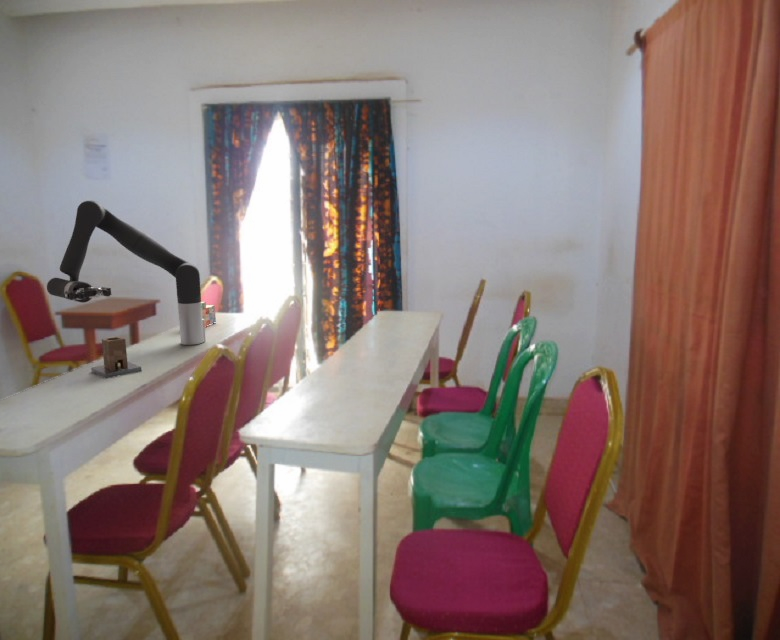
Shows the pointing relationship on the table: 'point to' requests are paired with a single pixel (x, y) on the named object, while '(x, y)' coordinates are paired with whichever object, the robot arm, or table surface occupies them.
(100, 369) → the base plate
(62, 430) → the table surface
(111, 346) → the sleeve
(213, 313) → the stack of blocks
